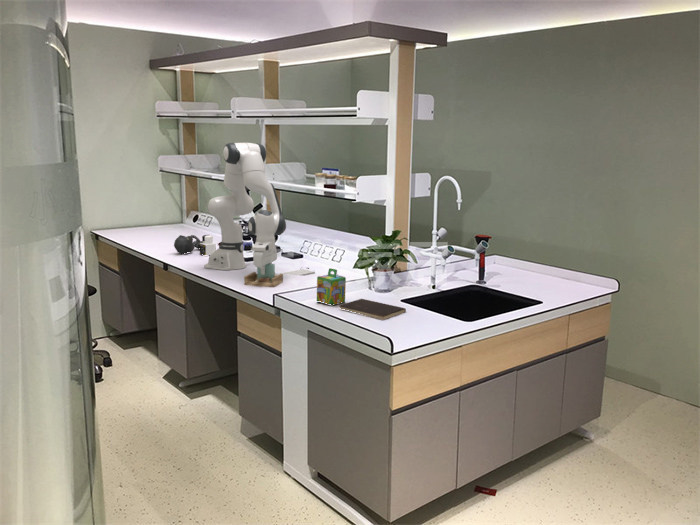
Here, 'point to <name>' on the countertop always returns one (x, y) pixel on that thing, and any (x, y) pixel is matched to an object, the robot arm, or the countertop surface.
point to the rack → (253, 277)
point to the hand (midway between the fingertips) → (266, 272)
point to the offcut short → (264, 279)
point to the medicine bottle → (207, 245)
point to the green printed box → (331, 288)
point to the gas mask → (186, 244)
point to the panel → (267, 271)
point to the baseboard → (300, 272)
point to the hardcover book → (373, 308)
